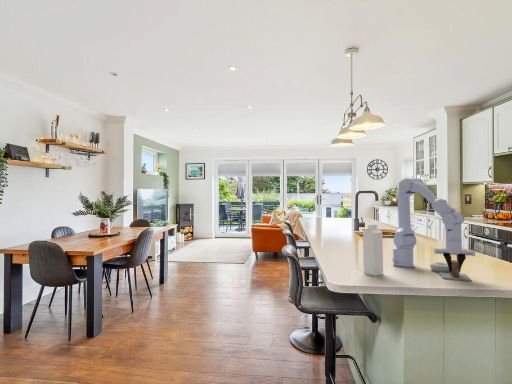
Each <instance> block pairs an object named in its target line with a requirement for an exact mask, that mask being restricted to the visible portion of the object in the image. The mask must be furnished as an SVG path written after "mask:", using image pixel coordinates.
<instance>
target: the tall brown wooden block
mask: <svg viewBox="0 0 512 384" xmlns="http://www.w3.org/2000/svg"><path fill="white" fill-rule="evenodd" d="M451 267H452V272H450V275H451V276H452V277H457V278H459V274H460V272H459V263H458V262H457V259H454V260H452V259H451Z"/></svg>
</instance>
